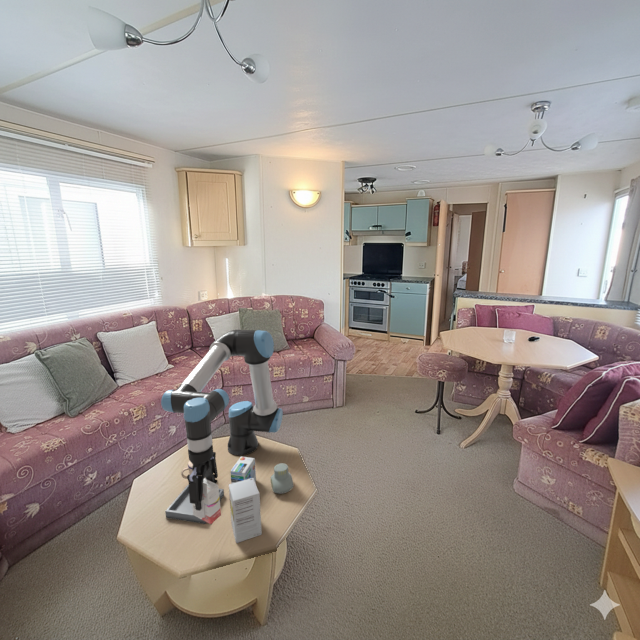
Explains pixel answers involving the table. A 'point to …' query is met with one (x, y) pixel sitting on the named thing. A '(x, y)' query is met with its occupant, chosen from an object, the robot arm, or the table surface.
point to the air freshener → (281, 479)
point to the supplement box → (245, 509)
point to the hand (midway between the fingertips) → (206, 508)
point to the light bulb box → (243, 470)
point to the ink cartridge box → (210, 501)
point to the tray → (185, 507)
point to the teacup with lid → (188, 469)
